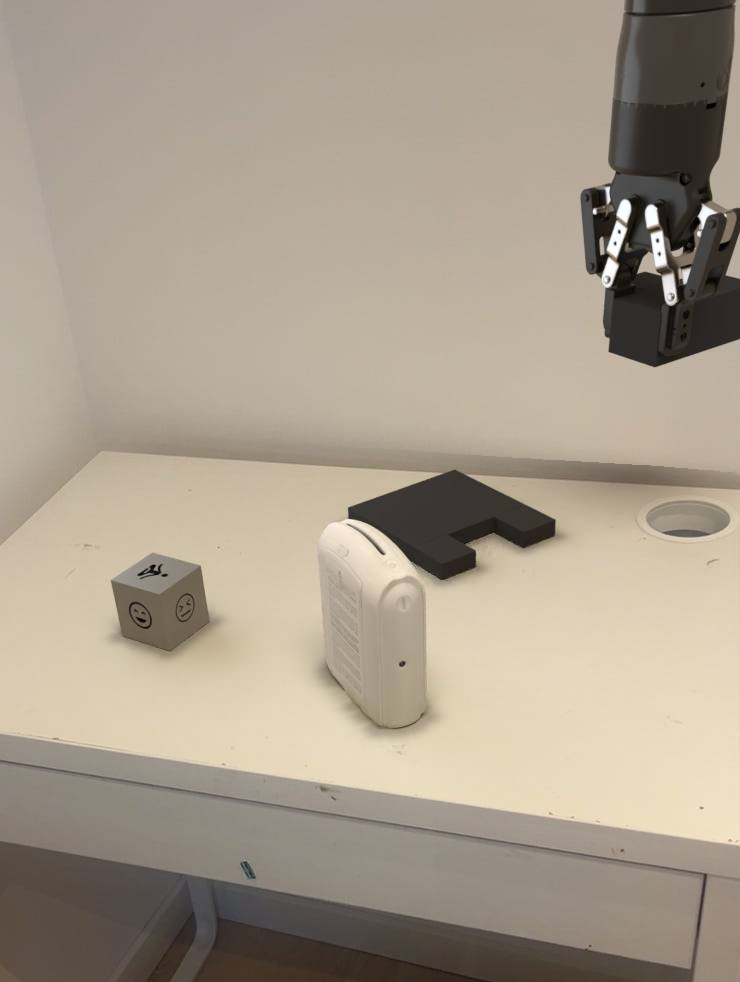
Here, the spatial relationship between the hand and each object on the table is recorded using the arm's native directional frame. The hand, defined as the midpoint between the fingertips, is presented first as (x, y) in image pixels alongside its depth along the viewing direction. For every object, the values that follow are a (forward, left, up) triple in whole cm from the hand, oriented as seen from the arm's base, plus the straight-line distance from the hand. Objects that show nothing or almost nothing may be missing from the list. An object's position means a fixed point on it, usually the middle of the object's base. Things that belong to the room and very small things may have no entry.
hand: (643, 343), depth 89 cm
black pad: (+11, -10, -16) cm, 22 cm away
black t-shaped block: (-4, -2, -1) cm, 4 cm away
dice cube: (+38, -11, -16) cm, 43 cm away
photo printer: (+30, +7, -16) cm, 35 cm away
